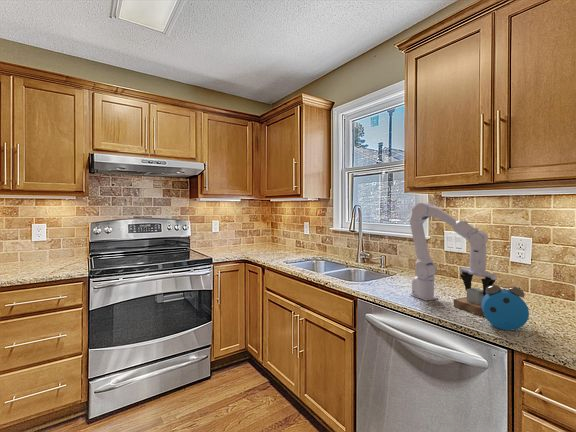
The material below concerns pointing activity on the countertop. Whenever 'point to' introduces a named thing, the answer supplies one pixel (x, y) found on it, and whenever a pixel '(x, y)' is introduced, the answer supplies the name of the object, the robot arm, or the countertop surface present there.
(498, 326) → the alarm clock
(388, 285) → the countertop surface
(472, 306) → the walnut base
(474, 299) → the slate cube
